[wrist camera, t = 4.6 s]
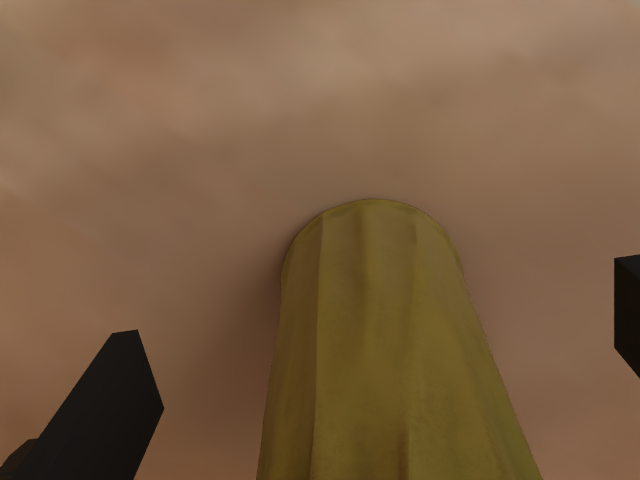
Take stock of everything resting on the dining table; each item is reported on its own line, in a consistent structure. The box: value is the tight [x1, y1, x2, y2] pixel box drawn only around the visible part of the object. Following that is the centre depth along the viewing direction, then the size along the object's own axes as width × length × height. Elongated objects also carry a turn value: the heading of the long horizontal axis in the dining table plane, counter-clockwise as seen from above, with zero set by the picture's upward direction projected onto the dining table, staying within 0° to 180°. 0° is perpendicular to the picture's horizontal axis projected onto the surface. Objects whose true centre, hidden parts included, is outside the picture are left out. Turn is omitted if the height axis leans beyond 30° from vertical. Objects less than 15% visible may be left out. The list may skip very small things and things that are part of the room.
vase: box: [256, 199, 543, 480], centre depth 13 cm, size 6×6×14 cm
